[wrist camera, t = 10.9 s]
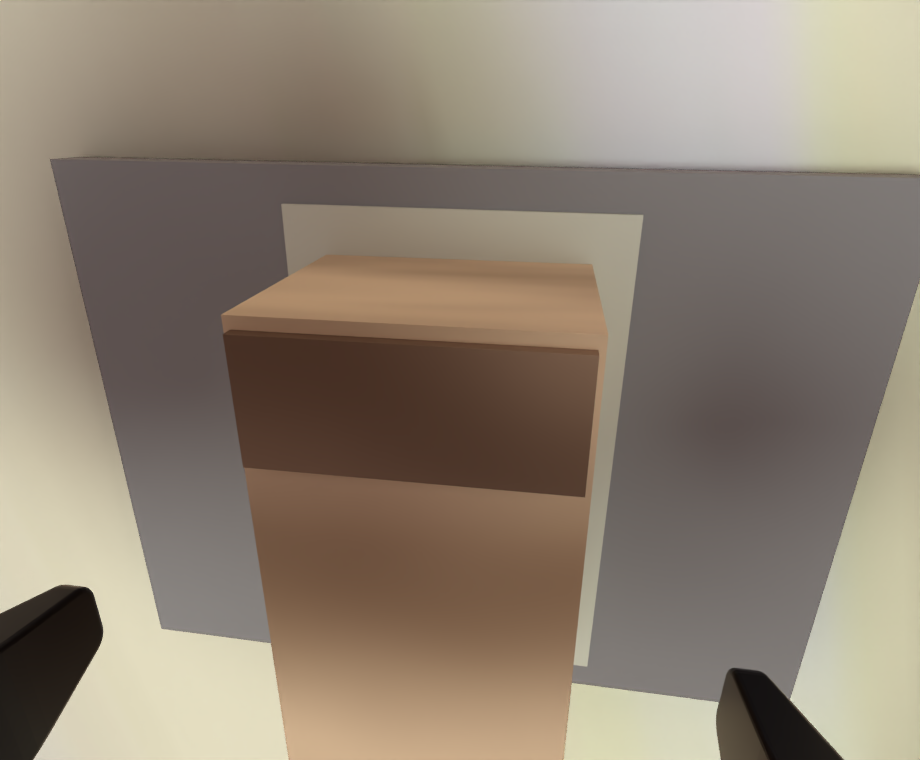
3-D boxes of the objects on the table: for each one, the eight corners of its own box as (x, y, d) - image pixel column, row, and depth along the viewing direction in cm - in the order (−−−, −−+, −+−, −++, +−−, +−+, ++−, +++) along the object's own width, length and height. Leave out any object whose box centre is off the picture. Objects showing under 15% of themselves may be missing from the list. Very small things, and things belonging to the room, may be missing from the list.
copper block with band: (558, 640, 15) (557, 826, 11) (355, 616, 15) (286, 782, 11) (592, 264, 11) (610, 340, 7) (326, 254, 12) (212, 319, 8)
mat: (923, 175, 10) (954, 179, 10) (775, 682, 15) (787, 714, 14) (79, 157, 13) (45, 159, 12) (178, 607, 17) (159, 631, 16)
